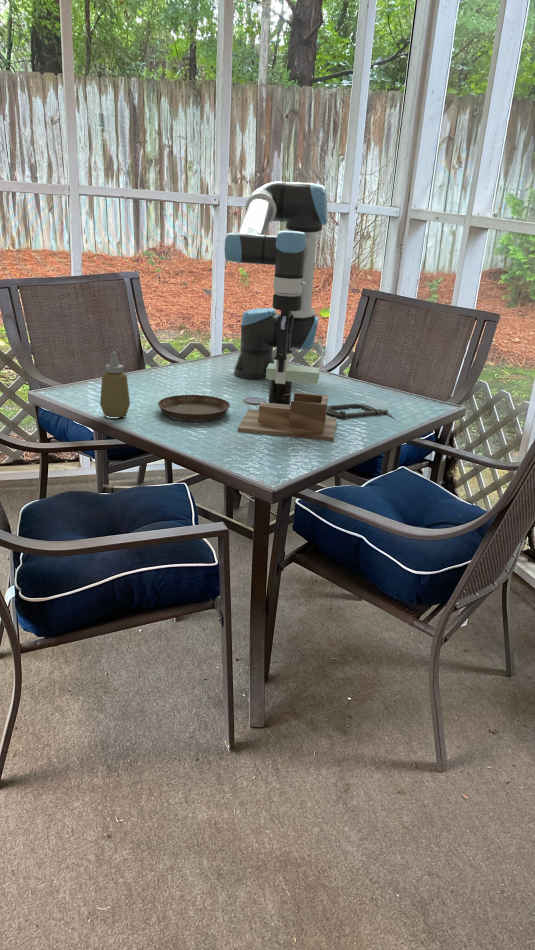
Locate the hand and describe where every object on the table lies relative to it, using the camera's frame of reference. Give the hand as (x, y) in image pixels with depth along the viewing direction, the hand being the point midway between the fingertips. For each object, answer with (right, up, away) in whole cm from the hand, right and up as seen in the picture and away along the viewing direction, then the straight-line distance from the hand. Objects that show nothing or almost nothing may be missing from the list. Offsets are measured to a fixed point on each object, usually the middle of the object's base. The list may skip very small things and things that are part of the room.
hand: (281, 379), depth 183 cm
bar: (+3, 0, -1) cm, 3 cm away
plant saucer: (-25, -9, +10) cm, 28 cm away
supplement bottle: (0, -5, +22) cm, 23 cm away
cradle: (+2, -12, +4) cm, 13 cm away
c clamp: (+23, -8, +20) cm, 32 cm away
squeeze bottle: (-46, -10, +3) cm, 47 cm away
